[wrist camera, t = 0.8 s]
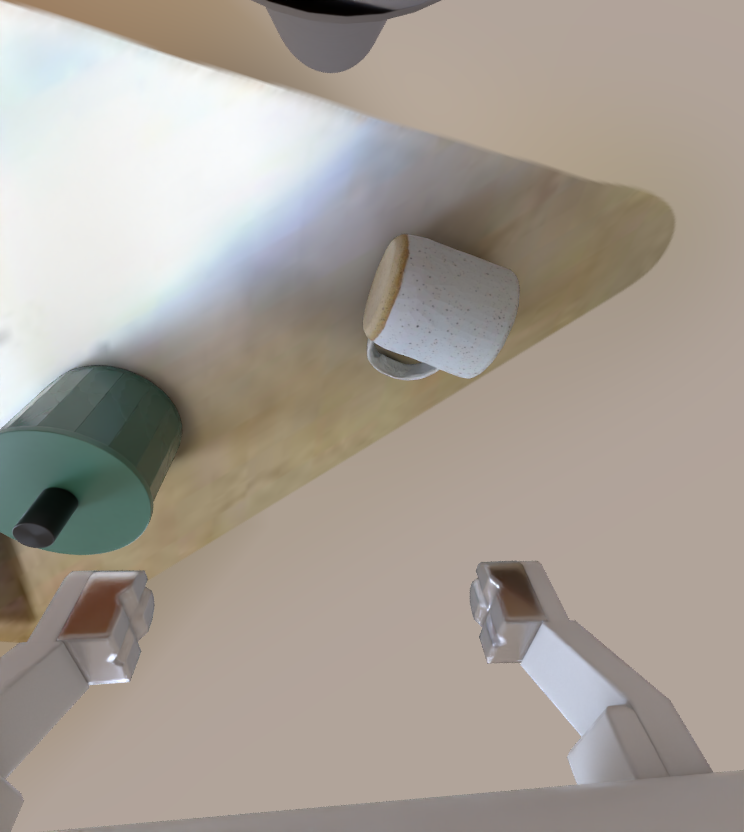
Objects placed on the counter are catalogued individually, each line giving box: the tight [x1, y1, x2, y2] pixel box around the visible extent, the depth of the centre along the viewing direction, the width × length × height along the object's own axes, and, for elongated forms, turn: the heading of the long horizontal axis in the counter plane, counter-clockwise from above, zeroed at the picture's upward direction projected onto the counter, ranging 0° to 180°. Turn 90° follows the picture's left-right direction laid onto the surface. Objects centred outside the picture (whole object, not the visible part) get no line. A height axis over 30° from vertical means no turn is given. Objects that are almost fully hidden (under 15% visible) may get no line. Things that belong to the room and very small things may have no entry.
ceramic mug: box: [363, 234, 520, 380], centre depth 29 cm, size 11×8×8 cm
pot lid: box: [0, 426, 153, 555], centre depth 27 cm, size 11×11×4 cm
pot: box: [0, 366, 182, 501], centre depth 31 cm, size 10×10×8 cm
